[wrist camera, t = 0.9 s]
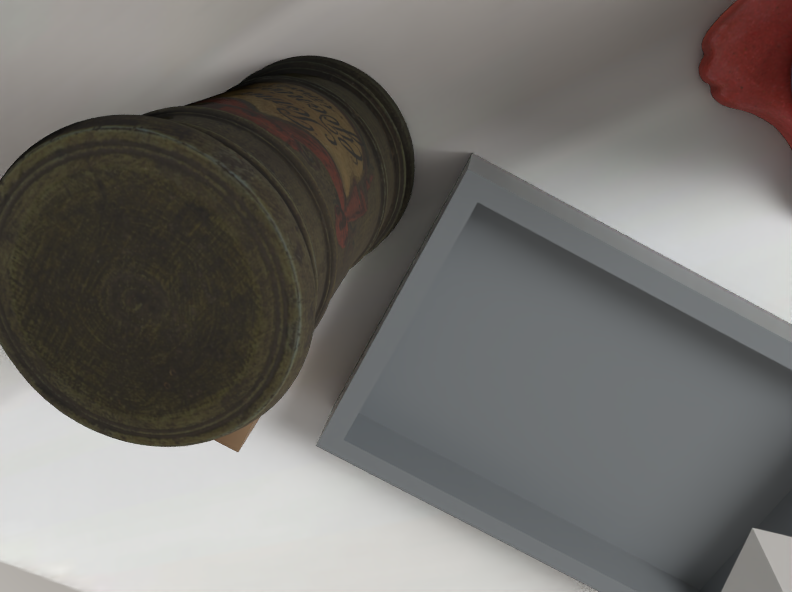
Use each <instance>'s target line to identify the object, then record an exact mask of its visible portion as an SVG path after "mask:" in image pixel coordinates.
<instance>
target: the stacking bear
mask: <svg viewBox="0 0 792 592" xmlns="http://www.w3.org/2000/svg"><path fill="white" fill-rule="evenodd" d="M702 50H703V52H704V56H703V58H702V60H701V63H700V65H699V74H700V77H701V79H702V80H703V81H704V82H705V83H708V84H709V85H710V88H711V94H712V96H713V98H714V99H715V100H716V101H717V102H718V103H720V104H722V105H724V106H727V107H730V108H734V109H738V110H742V111H745V112H749V113H752V114H754V115H756V116H758V117H760V118H762V119H764V120H765V121H767V122H768V123H770V124H771V125H773V126H774V127H775V128H776V129H777V130H778V131H779V132H780V133H781V134H782V135H783V137H784V138H785V139H786V141H787V142H788V144H789V145H790V147H791V149H792V0H737V1H736V2H735V3H734V4H732V5H731V6H730V7H729V8H728V9H727V10H726V11H725V12H724V13H723V14H722V15H721V16H720V17H719V18H718V19H717V20H716V22H715V23H714V24H713V25H712V26H711V28H710V29H709V30H708V31H707V33H706V35H705V37H704V38H703V41H702Z"/></svg>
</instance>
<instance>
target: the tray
mask: <svg viewBox="0 0 792 592" xmlns="http://www.w3.org/2000/svg"><path fill="white" fill-rule="evenodd" d="M316 446H318V447H320V448H322V449H323V450H325V451H327V452H329V453H331V454H333V455H335V456H337V457H339V458H341V459H343V460H345V461H347V462H349V463H351V464H353V465H354V466H356V467H358V468H360V469H362V470H364V471H366V472H368V473H370V474H372V475H374V476H376V477H378V478H380V479H382V480H384V481H386V482H387V483H389V484H391V485H393V486H395V487H397V488H399V489H401V490H403V491H405V492H407V493H409V494H411V495H413V496H415V497H417V498H419V499H420V500H422V501H424V502H426V503H428V504H430V505H432V506H434V507H436V508H438V509H440V510H442V511H444V512H446V513H448V514H450V515H452V516H453V517H455V518H457V519H459V520H461V521H463V522H465V523H467V524H469V525H471V526H473V527H475V528H477V529H479V530H481V531H483V532H485V533H486V534H488V535H490V536H492V537H494V538H496V539H498V540H500V541H502V542H504V543H506V544H508V545H510V546H512V547H514V548H516V549H518V550H519V551H521V552H523V553H525V554H527V555H529V556H531V557H533V558H535V559H537V560H539V561H541V562H543V563H545V564H547V565H549V566H550V567H552V568H554V569H556V570H558V571H560V572H562V573H564V574H566V575H568V576H570V577H572V578H574V579H576V580H578V581H580V582H582V583H583V584H585V585H587V586H589V587H591V588H593V589H595V590H597V591H599V592H721V591H722V589H723V587H724V585H725V583H726V581H727V579H728V577H729V575H730V573H731V571H732V568H733V566H734V564H735V562H736V560H737V558H738V556H739V554H740V552H741V550H742V548H743V546H744V544H745V542H746V540H747V538H748V536H749V534H750V532H751V530H752V528H756V529H760V530H764V531H768V532H773V533H777V534H781V535H785V536H789V537H792V324H790V323H788V322H786V321H784V320H782V319H780V318H779V317H777V316H775V315H773V314H771V313H769V312H767V311H766V310H764V309H762V308H760V307H758V306H756V305H754V304H753V303H751V302H749V301H747V300H745V299H743V298H741V297H740V296H738V295H736V294H734V293H732V292H730V291H728V290H726V289H725V288H723V287H721V286H719V285H717V284H715V283H713V282H712V281H710V280H708V279H706V278H704V277H702V276H700V275H699V274H697V273H695V272H693V271H691V270H689V269H687V268H686V267H684V266H682V265H680V264H678V263H676V262H674V261H673V260H671V259H669V258H667V257H665V256H663V255H661V254H659V253H658V252H656V251H654V250H652V249H650V248H648V247H646V246H645V245H643V244H641V243H639V242H637V241H635V240H633V239H632V238H630V237H628V236H626V235H624V234H622V233H620V232H619V231H617V230H615V229H613V228H611V227H609V226H607V225H605V224H604V223H602V222H600V221H598V220H596V219H594V218H592V217H591V216H589V215H587V214H585V213H583V212H581V211H579V210H578V209H576V208H574V207H572V206H570V205H568V204H566V203H565V202H563V201H561V200H559V199H557V198H555V197H553V196H552V195H550V194H548V193H546V192H544V191H542V190H540V189H538V188H537V187H535V186H533V185H531V184H529V183H527V182H525V181H524V180H522V179H520V178H518V177H516V176H514V175H512V174H511V173H509V172H507V171H505V170H503V169H501V168H499V167H498V166H496V165H494V164H492V163H490V162H488V161H486V160H485V159H483V158H481V157H479V156H477V155H475V154H473V153H472V155H471V157H470V159H469V160H468V162H467V164H466V166H465V168H464V170H463V171H462V173H461V175H460V177H459V179H458V181H457V182H456V184H455V186H454V188H453V190H452V192H451V193H450V195H449V197H448V199H447V201H446V202H445V204H444V206H443V208H442V210H441V212H440V213H439V215H438V217H437V219H436V221H435V223H434V224H433V226H432V228H431V230H430V232H429V234H428V235H427V237H426V239H425V241H424V243H423V245H422V246H421V248H420V250H419V252H418V254H417V256H416V257H415V259H414V261H413V263H412V265H411V267H410V268H409V270H408V272H407V274H406V276H405V278H404V279H403V281H402V283H401V285H400V287H399V289H398V290H397V292H396V294H395V296H394V298H393V300H392V301H391V303H390V305H389V307H388V309H387V310H386V312H385V314H384V316H383V318H382V320H381V321H380V323H379V325H378V327H377V329H376V331H375V332H374V334H373V336H372V338H371V340H370V342H369V343H368V345H367V347H366V349H365V351H364V353H363V354H362V356H361V358H360V360H359V362H358V364H357V365H356V367H355V369H354V371H353V373H352V375H351V376H350V378H349V380H348V382H347V384H346V386H345V387H344V389H343V391H342V393H341V395H340V397H339V398H338V400H337V402H336V404H335V406H334V408H333V409H332V412H331V414H330V416H329V418H328V420H327V423H326V425H325V427H324V429H323V431H322V434H321V436H320V438H319V440H318V442H317V445H316Z"/></svg>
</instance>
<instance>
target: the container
mask: <svg viewBox="0 0 792 592" xmlns="http://www.w3.org/2000/svg"><path fill="white" fill-rule="evenodd" d="M414 168H415V165H414V151H413V145H412V140H411V137H410V133H409V130H408V127H407V125H406V122H405V120H404V118H403V116H402V114H401V112H400V110H399V109H398V107H397V105H396V104H395V102H394V101H393V100H392V98H391V97H390V96H389V94H388V93H387V92H386V91H385V90H384V89H383V88H382V87H381V85H379V84H378V83H377V82H376V81H375V80H374V79H372V78H371V77H370V76H368V75H367V74H366V73H364V72H362V71H361V70H359V69H357V68H356V67H354V66H351V65H349V64H347V63H345V62H342V61H339V60H336V59H332V58H327V57H321V56H298V57H291V58H287V59H284V60H280V61H278V62H275V63H273V64H271V65H268V66H266V67H265V68H263V69H261V70H259V71H257V72H255V73H253V74H251V75H250V76H248V77H247V78H246V79H244V80H243V81H242V82H241V83H240V84H238V85H236V86H234V87H232V88H231V89H229V90H227V91H226V92H224V93H221V94H218V95H215V96H213V97H210V98H207V99H204V100H201V101H197V102H194V103H191V104H188V105H185V106H178V107H170V108H164V109H159V110H155V111H152V112H149V113H146V114H143V115H110V116H102V117H96V118H91V119H87V120H84V121H80V122H77V123H74V124H72V125H69V126H66V127H64V128H62V129H59V130H57V131H55V132H53V133H51V134H50V135H48V136H46V137H45V138H43V139H41V140H40V141H38V142H37V143H35V144H34V145H33V146H31V147H30V148H29V149H28V150H27V151H25V152H24V153H23V154H22V155H21V156H20V157H19V158H18V159H17V160H16V161H15V162H14V163H13V164H12V165H11V167H10V168H9V169H8V170H7V172H6V173H5V174H4V176H3V177H2V178H1V180H0V344H1V346H2V347H3V349H4V351H5V352H6V354H7V355H8V357H9V358H10V360H11V361H12V362H13V364H14V365H15V366H16V368H17V369H18V370H19V372H20V373H21V374H22V375H23V377H24V378H25V379H26V380H27V382H28V383H29V384H30V385H31V386H32V387H33V388H34V389H35V390H36V391H37V392H38V393H39V394H40V395H41V396H42V397H43V398H44V399H46V400H47V401H48V402H49V403H50V404H52V405H53V406H54V407H55V408H57V409H58V410H59V411H60V412H62V413H63V414H65V415H66V416H68V417H70V418H71V419H73V420H75V421H76V422H78V423H80V424H82V425H84V426H85V427H87V428H89V429H92V430H94V431H96V432H99V433H101V434H104V435H106V436H109V437H112V438H115V439H118V440H122V441H125V442H130V443H134V444H140V445H147V446H160V447H176V446H188V445H194V444H199V443H203V442H207V441H211V440H214V439H218V438H220V437H223V436H226V435H228V434H231V433H233V432H235V431H237V430H239V429H241V428H243V427H245V426H247V425H249V424H250V423H252V422H253V421H255V420H256V419H258V418H259V417H261V416H262V415H263V414H264V413H266V412H267V411H268V410H269V409H270V408H272V407H273V406H274V405H275V404H276V403H277V402H278V401H279V400H280V399H281V398H282V396H283V395H284V394H285V393H286V391H287V390H288V389H289V388H290V386H291V385H292V383H293V382H294V380H295V378H296V377H297V375H298V373H299V371H300V370H301V368H302V366H303V363H304V361H305V358H306V356H307V353H308V350H309V347H310V343H311V339H312V335H313V331H314V329H315V328H316V327H317V325H318V324H319V322H320V320H321V319H322V317H323V315H324V313H325V311H326V309H327V306H328V304H329V301H330V299H331V298H332V296H333V294H334V293H335V291H336V290H337V288H338V287H339V285H340V283H341V282H342V280H343V278H344V277H345V276H346V274H347V272H348V271H349V269H351V268H352V267H353V266H354V265H355V264H357V263H358V262H359V261H360V260H361V259H362V258H363V257H364V256H365V255H367V254H368V253H370V252H371V251H372V250H373V249H374V248H376V247H377V246H378V245H379V244H380V243H381V242H382V240H384V239H385V238H386V237H387V236H388V235H389V234H390V232H391V231H392V230H393V229H394V227H395V226H396V225H397V223H398V222H399V220H400V218H401V217H402V214H403V213H404V211H405V209H406V207H407V205H408V202H409V199H410V196H411V192H412V188H413V182H414Z"/></svg>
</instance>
